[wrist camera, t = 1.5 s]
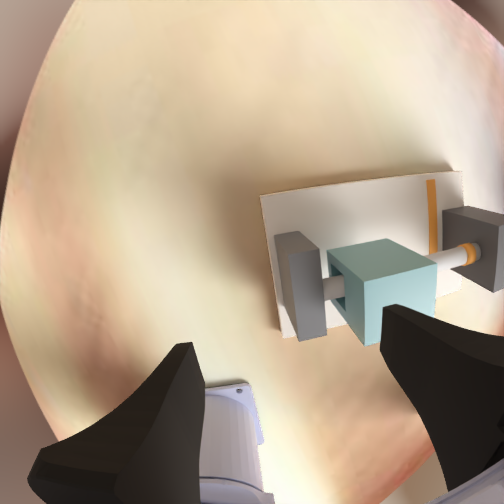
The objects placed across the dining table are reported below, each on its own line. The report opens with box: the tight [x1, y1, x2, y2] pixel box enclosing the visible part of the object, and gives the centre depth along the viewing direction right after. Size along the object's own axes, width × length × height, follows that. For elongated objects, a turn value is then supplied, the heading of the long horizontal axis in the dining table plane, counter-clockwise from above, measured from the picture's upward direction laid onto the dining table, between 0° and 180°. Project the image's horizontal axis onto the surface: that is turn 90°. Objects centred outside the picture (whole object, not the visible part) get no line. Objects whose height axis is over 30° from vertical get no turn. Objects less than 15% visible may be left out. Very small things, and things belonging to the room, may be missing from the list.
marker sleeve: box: [326, 238, 438, 346], centre depth 15 cm, size 4×3×5 cm
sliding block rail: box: [259, 171, 504, 342], centre depth 18 cm, size 16×10×7 cm, turn 100°
